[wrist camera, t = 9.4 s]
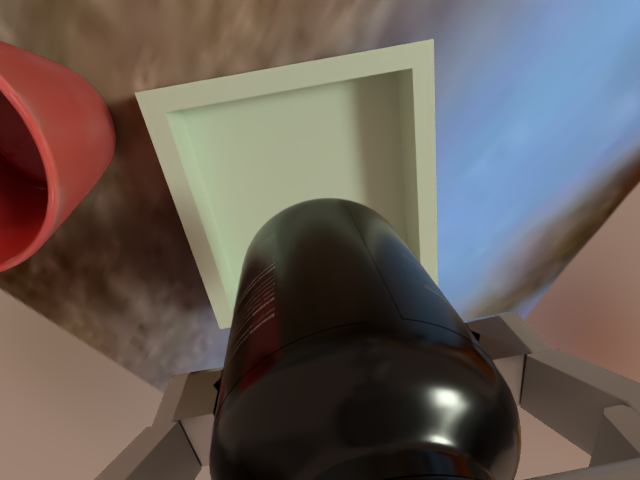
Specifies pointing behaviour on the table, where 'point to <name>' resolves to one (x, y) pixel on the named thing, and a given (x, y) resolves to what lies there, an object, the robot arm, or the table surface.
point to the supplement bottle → (353, 362)
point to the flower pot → (45, 148)
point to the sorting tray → (298, 152)
